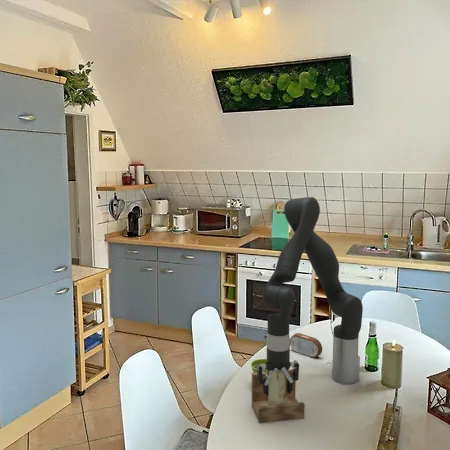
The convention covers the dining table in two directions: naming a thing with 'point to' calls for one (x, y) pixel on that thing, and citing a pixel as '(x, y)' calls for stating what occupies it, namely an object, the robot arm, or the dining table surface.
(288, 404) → the wooden holder
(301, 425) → the dining table surface
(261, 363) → the plant pot
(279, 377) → the skincare box
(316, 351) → the tin
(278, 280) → the robot arm
